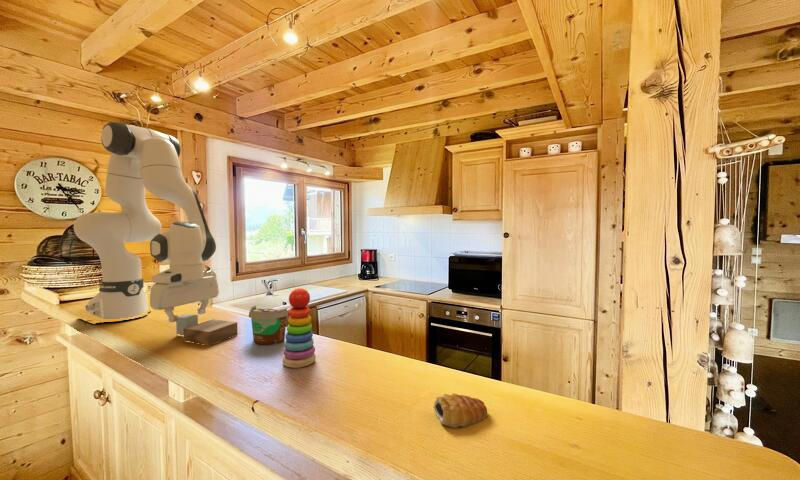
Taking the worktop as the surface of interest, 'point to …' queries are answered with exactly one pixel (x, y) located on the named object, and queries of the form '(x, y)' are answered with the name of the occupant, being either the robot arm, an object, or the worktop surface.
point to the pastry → (459, 410)
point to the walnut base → (210, 332)
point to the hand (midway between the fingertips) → (188, 317)
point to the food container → (268, 325)
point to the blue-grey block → (185, 322)
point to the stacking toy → (299, 332)
